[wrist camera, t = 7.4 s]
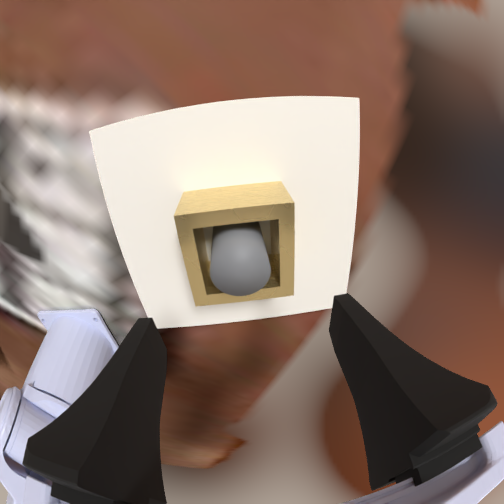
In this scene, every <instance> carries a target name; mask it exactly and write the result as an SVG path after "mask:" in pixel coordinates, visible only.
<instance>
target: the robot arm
mask: <svg viewBox="0 0 504 504" xmlns="http://www.w3.org/2000/svg"><path fill="white" fill-rule="evenodd" d="M38 317H39V319H40V320H41V322H42V323H43V325H44V326H45V328H46V329H47V331H48V332H47V334H46V336H45V338H44V340H43V342H42V344H41V346H40V348H39V351H38V353H37V355H36V357H35V359H34V362H33V364H32V366H31V368H30V371H29V373H28V376H27V378H26V380H25V383H24V385H23V388H22V389H20V390H19V389H18V388H17V387H13V388H8V389H7V390H6V391H5V393H4V395H3V397H2V399H1V401H0V482H1V483H2V484H3V486H4V487H5V488H6V490H7V491H8V496H7V502H6V504H166V503H167V502H166V497H165V492H164V486H163V480H162V471H161V459H160V415H161V407H162V400H163V393H164V386H165V379H166V370H167V349H166V347H165V344H164V342H163V340H162V338H161V336H160V334H159V332H158V329H157V327H156V325H155V323H154V320H153V318H139V319H138V320H137V321H136V323H135V324H134V326H133V327H132V328H131V330H130V331H129V333H128V334H127V336H126V337H125V339H124V340H123V342H122V343H121V345H120V346H118V345H117V343H116V341H115V340H114V338H113V336H112V335H111V333H110V331H109V329H108V328H107V326H106V324H105V322H104V321H103V319H102V317H101V315H100V313H99V312H98V311H97V310H95V309H82V310H58V311H39V313H38ZM329 333H330V336H331V340H332V343H333V347H334V351H335V353H336V356H337V358H338V361H339V363H340V366H341V368H342V371H343V373H344V376H345V378H346V381H347V383H348V386H349V388H350V391H351V393H352V395H353V398H354V401H355V405H356V409H357V412H358V417H359V420H360V425H361V429H362V434H363V439H364V444H365V450H366V456H367V463H368V471H369V482H370V486H371V489H372V490H375V489H378V488H381V487H383V486H386V485H389V484H391V483H394V482H396V484H395V485H393V486H391V487H388V488H385V489H383V490H380V491H378V492H375V493H372V494H369V495H366V496H363V497H360V498H357V499H354V500H350V501H348V502H344V503H340V504H477V503H478V502H479V501H480V500H482V499H483V498H484V497H485V496H486V495H487V494H488V493H489V492H490V491H491V490H492V489H493V488H495V486H497V485H498V484H499V483H500V482H501V481H502V480H503V479H504V424H503V422H502V421H501V422H499V423H498V424H497V425H495V426H494V427H493V428H491V429H490V430H489V431H487V432H486V433H485V434H483V435H482V436H481V437H478V435H477V433H478V432H479V431H480V428H479V426H478V423H479V422H480V421H482V420H483V419H484V418H485V417H486V416H487V415H488V414H489V413H490V412H492V410H494V408H495V407H496V406H497V401H496V399H495V397H494V395H493V394H492V392H491V390H490V388H489V387H488V386H487V385H484V384H481V383H478V382H475V381H472V380H470V379H467V378H465V377H462V376H460V375H458V374H455V373H453V372H451V371H449V370H447V369H445V368H443V367H441V366H440V365H438V364H436V363H434V362H432V361H431V360H429V359H427V358H426V357H424V356H423V355H421V354H420V353H418V352H417V351H415V350H414V349H412V348H411V347H409V346H408V345H407V344H405V343H404V342H403V341H401V340H400V339H399V338H398V337H396V336H395V335H394V334H393V333H391V332H390V331H389V330H388V329H387V328H386V327H384V326H383V325H382V324H381V323H380V322H379V321H378V320H376V319H375V318H374V317H373V316H372V315H371V314H370V313H369V312H368V311H367V310H366V309H365V308H363V307H362V306H361V305H360V304H359V303H358V302H357V301H356V300H355V299H354V298H353V297H352V296H351V295H349V294H348V293H347V294H341V295H335V296H334V299H333V306H332V313H331V320H330V327H329Z"/></svg>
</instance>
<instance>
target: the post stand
mask: <svg viewBox="0 0 504 504" xmlns="http://www.w3.org/2000/svg"><path fill="white" fill-rule="evenodd" d="M89 133H90V138H91V143H92V148H93V153H94V157H95V162H96V166H97V170H98V174H99V178H100V182H101V186H102V190H103V193H104V197H105V200H106V204H107V207H108V211H109V214H110V217H111V221H112V224H113V227H114V230H115V233H116V236H117V239H118V242H119V245H120V248H121V251H122V253H123V256H124V259H125V262H126V264H127V267H128V270H129V272H130V275H131V278H132V280H133V283H134V285H135V288H136V290H137V293H138V295H139V297H140V300H141V302H142V305H143V307H144V309H145V311H146V314H147V316H148V318H153V320H154V323H155V325H156V327H157V329H158V328H173V327H187V326H199V325H210V324H220V323H229V322H238V321H247V320H255V319H263V318H270V317H278V316H285V315H291V314H298V313H305V312H311V311H317V310H323V309H329V308H332V306H333V299H334V296H335V295H341V294H346V291H347V285H348V278H349V271H350V264H351V256H352V248H353V239H354V230H355V219H356V207H357V193H358V176H359V144H360V114H359V98H352V97H331V96H286V97H265V98H251V99H240V100H230V101H221V102H214V103H207V104H200V105H194V106H188V107H182V108H177V109H171V110H166V111H162V112H157V113H152V114H148V115H144V116H140V117H136V118H132V119H128V120H124V121H121V122H117V123H114V124H110V125H107V126H104V127H100V128H97V129H94V130H91V131H89ZM275 181H281V182H282V183H283V185H284V186H285V188H286V190H287V191H288V193H289V194H290V196H291V198H292V199H293V201H294V202H295V267H294V295H293V296H286V297H278V298H270V299H262V300H253V301H245V302H236V303H226V304H216V305H206V306H195V302H194V298H193V295H192V291H191V287H190V283H189V280H188V276H187V272H186V268H185V264H184V260H183V255H182V251H181V247H180V243H179V238H178V234H177V230H176V225H175V220H174V214H175V211H176V208H177V206H178V203H179V201H180V199H181V196H182V194H183V192H186V191H193V190H200V189H208V188H216V187H224V186H233V185H243V184H253V183H263V182H275ZM203 232H204V237H205V243H206V248H207V254H208V259H209V261H211V263H210V277H211V280H212V282H213V284H214V285H215V286H216V287H217V288H218V289H219V290H220V291H222V292H224V293H226V294H228V295H232V296H246V295H250V294H253V293H255V292H257V291H259V290H260V289H262V288H263V287H264V286H265V285H266V283H267V282H268V280H269V278H270V274H271V267H270V263H269V259H268V255H267V254H271V235H270V220H265V221H256V222H246V223H237V224H228V225H220V226H211V227H203Z"/></svg>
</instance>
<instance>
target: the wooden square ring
mask: <svg viewBox="0 0 504 504" xmlns="http://www.w3.org/2000/svg"><path fill="white" fill-rule="evenodd" d="M174 220H175V225H176V230H177V234H178V238H179V243H180V247H181V251H182V255H183V260H184V264H185V268H186V272H187V276H188V280H189V283H190V287H191V291H192V295H193V298H194V302H195V306H206V305H216V304H226V303H236V302H245V301H253V300H262V299H270V298H278V297H286V296H293V295H294V267H295V202H294V201H293V199H292V198H291V196H290V194H289V193H288V191H287V190H286V188H285V186H284V185H283V183H282V182H281V181H275V182H263V183H253V184H243V185H233V186H224V187H216V188H208V189H200V190H193V191H186V192H183V194H182V196H181V199H180V201H179V203H178V206H177V208H176V211H175V214H174ZM265 220H270V235H271V254H267V255H268V259H269V263H270V267H271V274H270V278H269V280H268V282H267V283H266V285H265V286H264V287H263V288H262V289H260V290H259V291H257V292H255V293H253V294H250V295H246V296H232V295H228V294H226V293H224V292H222V291H220V290H219V289H218V288H217V287H216V286H215V285H214V284H213V282H212V280H211V277H210V263H211V261H209V259H208V254H207V248H206V243H205V237H204V232H203V227H211V226H220V225H228V224H237V223H246V222H256V221H265Z"/></svg>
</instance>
